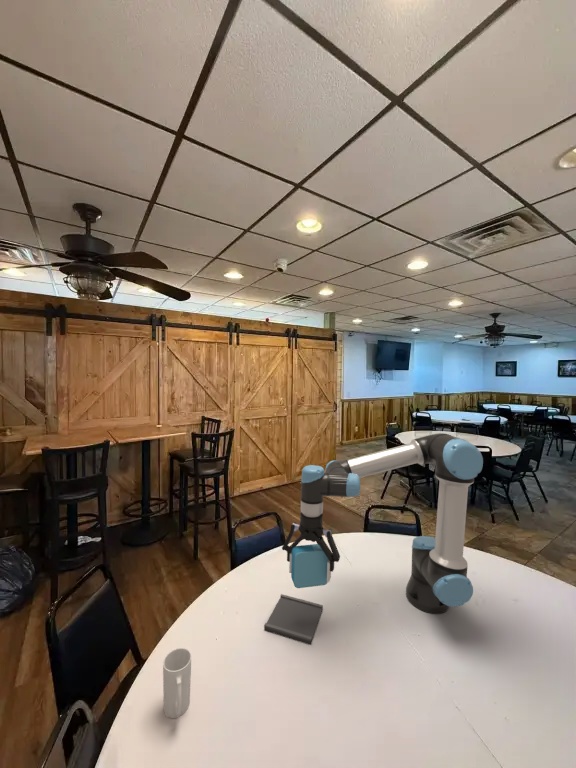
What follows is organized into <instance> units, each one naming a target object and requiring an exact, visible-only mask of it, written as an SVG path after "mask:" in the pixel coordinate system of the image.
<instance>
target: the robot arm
mask: <svg viewBox="0 0 576 768" xmlns="http://www.w3.org/2000/svg"><path fill="white" fill-rule="evenodd" d="M414 464H418V465H421V466H423V465H426V464H435V470H434V475H435V478H436V479H437V480H438V481H439V485H438V498H437V512H436V524H435V526H436V527H435V537H433V536H427V535H420V536H416V537H414V538H413V540H412V545H411V575H410V577H409V579H408V581H407V584H406V587H405V595H406V599H407V600H408V602H409V603H410V604H411V605H412V606H414V607H415V608H417V609H419V611H423V612H426V613H429V614H436V615H437V614H442V613H446V612H447V611H448V610H449V609H450V607H452V608H456V607H457V608H458V607H461V606H464V605H465V604H466V603H468V602H469V601H470V600H471V598H472V597H473V594H474V586H473V583H472V581H471V580H470V579H469V578H468V561H467V560H466V558H465V557H464V546H465V535H466V534H465V533H466V521H467V520H466V517H467V510H468V509H467V508H468V497H469V496H468V493H469V487H470V486H471V485H472V484H474V482H475V478H477V477H478V474H480V473H481V472H482V470H483V466H484V465H483V464H484V457H483V455H482V453H481V451H480V449H478V447H477V446H475V445H474V444H473V443H471V442H470V441H468V440H466V439H465V438H464V439H463V438H460V437H457V436H454V435H452V434H450V433H449V434H447V433H441V432H440V433H433V434H429V435H425V436H421V437H418V438H413V439H411V441H410V442H409V443H406V444H402V445H398V446H395V447H391V448H387V449H383V450H379V451H375V452H371V453H368V454H365V455H361V456H357V457H354V458H353V457H352V458H348V459H345V460H341V461H340V460H331V461H329V462H328V463H327V464H326V466H325V469H324V467H322V466H321V465H315V464H311V465H305V466H304V467H303V468H301V469H302V470H301V479H300V481H301V482H300V519H299V520H300V521H299V523H300V524H298V523H297V522H292V524H291V525H290V529H289V530H290V531H289V533H288V535H287V537H286V539H285V541H284V543H283V545H282V547H281V549H282V551H286V561H287V562H288V563H289V564H288V565H289V566H288V567H289V568H288V570H289V571H288V572H289V574H291V566H292V549H293V548H294V547H296V546H299V544H300V542H302V541H303V540H305V541H310V542H311V543H315V542H316V544H318V545H319V546H320V547H321V549H322V550H323V552H324V553H325V555H326V556H327V558H328V559H329V560H328V562H327V582H328V583H330V582H331V581H330V580H331V578H332V572H333V573H334V570H335V563H339V561H340V558H341V555H340V553H339V550H338V547H337V545H336V542H335V539H334V537H333V530H332V529H331V528H328V529H324V528H323V522H324V521H323V520H324V519H323V517H324V514H323V512H324V497H339V498H340V497H341V498H345V497H346V498H353V497H354V498H355V497H359V495H360V494H361V480H360V478H365V477H369V476H373V475H376V474H381V473H385V472H388V471H391V470H395V469H400V468H403V467H408V466H410V465H414ZM296 531H299V532H300V535H299V536H298V537H297V538H296V539H295V540H294V541H293V542H292V543H291V544H290V542H291V540H292V538H293V536H294V534H295V532H296ZM323 535H324V537H325V538H326V540H327V543H328V544H327V543H326V541H325V539H324V537H323ZM289 544H290V545H289ZM328 545H329V546H328Z"/></svg>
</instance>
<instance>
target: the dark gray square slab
mask: <svg viewBox="0 0 576 768" xmlns="http://www.w3.org/2000/svg"><path fill="white" fill-rule="evenodd" d="M323 610H324V605H323V604H320V603H315V602H312V601H308V600H305V599H301V598H297V597H293V596H290V595H287V594H283V593H281V594H280V598H279V599H278V601H277V603H276V604H275V607H274V608H273V610H272V612H271V614H270V616H269V618H268V619H267V621H266V622H265V623H264V625H263V628H264V630H263V631H265V632H269V633H271V634H275V635H278V636H280V637H284V638H287V639H290V640H293V641H297V642H300V643H303V644H306V645H310V646H311V645H312V643H313V640H314V638H315V634H316V632H317V628H318V626H319V624H320V623H319V622H320V619H321V616H322V614H323Z"/></svg>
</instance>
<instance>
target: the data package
mask: <svg viewBox="0 0 576 768" xmlns="http://www.w3.org/2000/svg"><path fill="white" fill-rule="evenodd" d="M328 560H329V559H328V558H327V556H326V555H325V553H324V552H323V550H322V549H321V547H320V546H319V545H318V544H317V543H311V544H303V545H301V544H300V545H297V546H296V547H294V548H293V549H292V566H291V573H290V575H291V577H290V578H291V580H292V583H293V586H294V587H295V588H297V589H303V588H311V587H321V586H325V585H327V584H328V583H329V582H327V562H328Z"/></svg>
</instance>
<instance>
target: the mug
mask: <svg viewBox="0 0 576 768" xmlns="http://www.w3.org/2000/svg"><path fill="white" fill-rule="evenodd" d="M162 663H163V664H162V676H163V677H162V681H163V682H162V685H163V686H162V687H163V690H162V691H163V697H162V698H163V699H162V700H163V701H162V702H163V712H164V714H165V716H166V717H168V718H170V719H171V718H172V719H174V718H175V719H176V718H179V717H180V716H183V714H184V713H186V711H187V710H188V709H189V706H190V701H191V700H190V699H191V698H190V697H191V677H192V653H191V651H190V650H189V649H188V648H186V647H178V648H174V649H172V650H171V651H169V652H168V653H167V654H166V655H165V656H164V659H163V662H162Z"/></svg>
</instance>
